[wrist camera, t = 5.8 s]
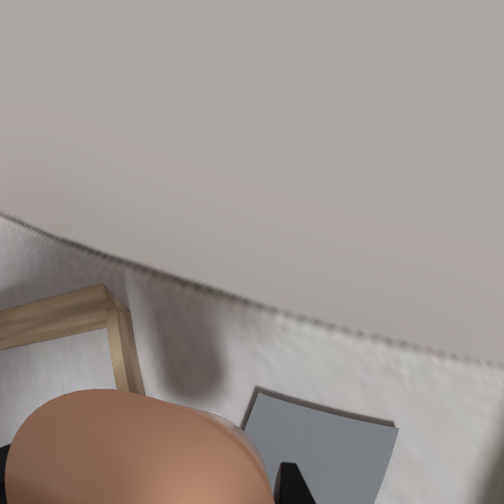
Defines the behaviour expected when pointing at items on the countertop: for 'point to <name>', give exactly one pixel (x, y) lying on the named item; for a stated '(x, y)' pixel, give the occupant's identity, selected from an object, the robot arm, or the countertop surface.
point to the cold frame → (78, 327)
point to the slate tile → (322, 449)
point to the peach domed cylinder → (131, 454)
